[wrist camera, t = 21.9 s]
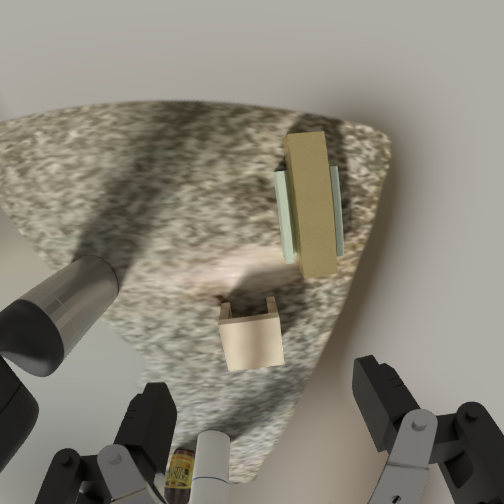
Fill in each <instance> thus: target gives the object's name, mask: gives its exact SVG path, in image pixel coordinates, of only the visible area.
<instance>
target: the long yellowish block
mask: <svg viewBox="0 0 504 504" xmlns="http://www.w3.org/2000/svg"><path fill="white" fill-rule="evenodd" d="M282 140H283V146H284V153H285V161H286V168H287V175H288V183H289V191H290V199H291V208H292V216H293V225H294V234H295V244H296V254H297V264H298V269H299V270H300V272H301V274H302V276H303V278H304V279H306V278H312V277H318V276H324V275H330V274H336V273H337V253H336V237H335V223H334V210H333V199H332V189H331V180H330V171H329V163H328V155H327V148H326V140H325V134H324V131H320V132H306V133H293V134H287V135H286V136H285V137H283V138H282Z"/></svg>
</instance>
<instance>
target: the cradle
mask: <svg viewBox="0 0 504 504" xmlns="http://www.w3.org/2000/svg"><path fill="white" fill-rule="evenodd" d="M329 171H330V180H331V189H332V199H333V210H334V223H335V237H336V253H337V256H343V255H344V240H343V223H342V209H341V197H340V187H339V177H338V168H337V166H329ZM273 175H274V183H275V190H276V198H277V206H278V214H279V222H280V231H281V240H282V248H283V257H284V259H285V261H286V263H287V264H290V263H294V257H297V254H296V244H295V234H294V225H293V216H292V208H291V199H290V191H289V183H288V175H287V170H286V171H277V172H273Z"/></svg>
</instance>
